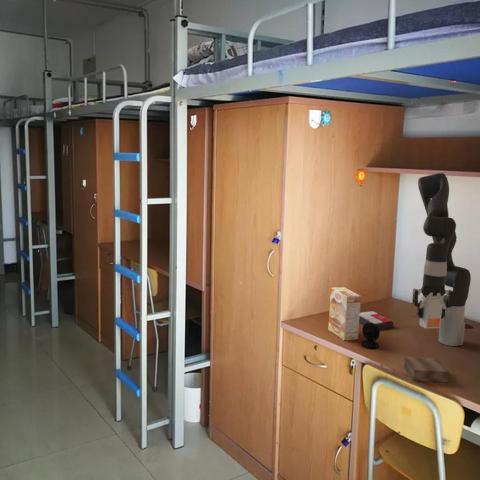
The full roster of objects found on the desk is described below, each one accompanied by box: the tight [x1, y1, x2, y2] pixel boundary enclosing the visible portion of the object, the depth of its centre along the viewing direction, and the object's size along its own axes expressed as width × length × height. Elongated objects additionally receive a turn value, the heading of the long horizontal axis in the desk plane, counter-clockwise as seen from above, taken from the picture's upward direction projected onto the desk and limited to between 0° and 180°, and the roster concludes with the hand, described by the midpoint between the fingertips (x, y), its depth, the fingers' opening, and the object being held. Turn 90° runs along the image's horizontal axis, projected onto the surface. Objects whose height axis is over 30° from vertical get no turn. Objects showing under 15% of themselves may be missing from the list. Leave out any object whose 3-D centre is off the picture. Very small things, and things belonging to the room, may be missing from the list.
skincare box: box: [418, 294, 444, 330], centre depth 196 cm, size 6×4×12 cm
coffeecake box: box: [327, 286, 362, 341], centre depth 239 cm, size 15×7×20 cm, turn 18°
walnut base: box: [403, 357, 449, 383], centre depth 199 cm, size 12×12×4 cm
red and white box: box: [359, 311, 394, 330], centre depth 256 cm, size 11×4×15 cm
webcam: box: [360, 322, 380, 350], centre depth 226 cm, size 8×8×10 cm
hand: (430, 317), depth 196 cm, fingers closed on skincare box, 7 cm apart
